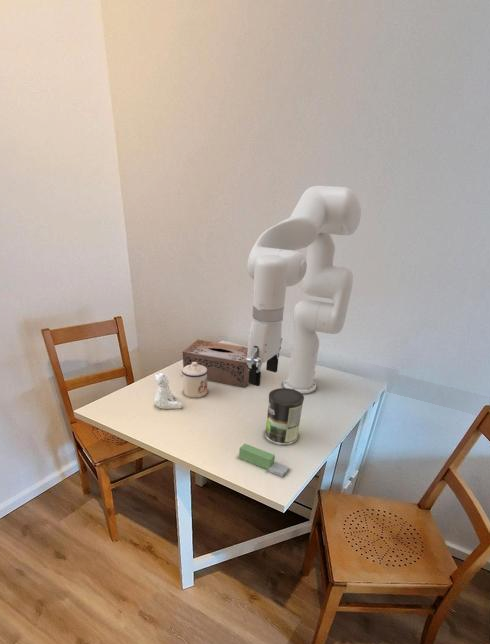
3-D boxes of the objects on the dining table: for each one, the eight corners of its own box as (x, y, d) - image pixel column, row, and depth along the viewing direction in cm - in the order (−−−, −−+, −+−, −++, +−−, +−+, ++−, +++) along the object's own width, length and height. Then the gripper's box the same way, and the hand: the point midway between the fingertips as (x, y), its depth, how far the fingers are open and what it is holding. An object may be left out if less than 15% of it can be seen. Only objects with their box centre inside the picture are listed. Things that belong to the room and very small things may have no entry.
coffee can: (267, 445, 117) (272, 404, 108) (262, 427, 125) (266, 388, 116) (301, 444, 117) (307, 404, 109) (294, 426, 126) (299, 387, 117)
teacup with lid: (202, 400, 138) (201, 369, 131) (179, 395, 140) (177, 365, 133) (213, 385, 147) (213, 356, 140) (191, 382, 149) (190, 353, 142)
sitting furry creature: (183, 408, 133) (181, 376, 126) (159, 414, 130) (156, 381, 122) (173, 396, 139) (170, 365, 132) (150, 402, 136) (146, 370, 129)
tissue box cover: (183, 375, 153) (182, 351, 147) (198, 362, 164) (197, 339, 158) (244, 387, 147) (246, 362, 141) (255, 372, 158) (257, 348, 152)
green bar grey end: (288, 469, 108) (290, 459, 105) (282, 477, 105) (283, 466, 103) (244, 452, 114) (245, 442, 111) (238, 458, 111) (238, 448, 109)
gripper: (270, 301, 101) (266, 363, 111) (236, 320, 89) (234, 386, 100) (297, 306, 98) (289, 369, 108) (264, 326, 86) (259, 394, 97)
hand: (263, 377), depth 104 cm, fingers open, 9 cm apart
